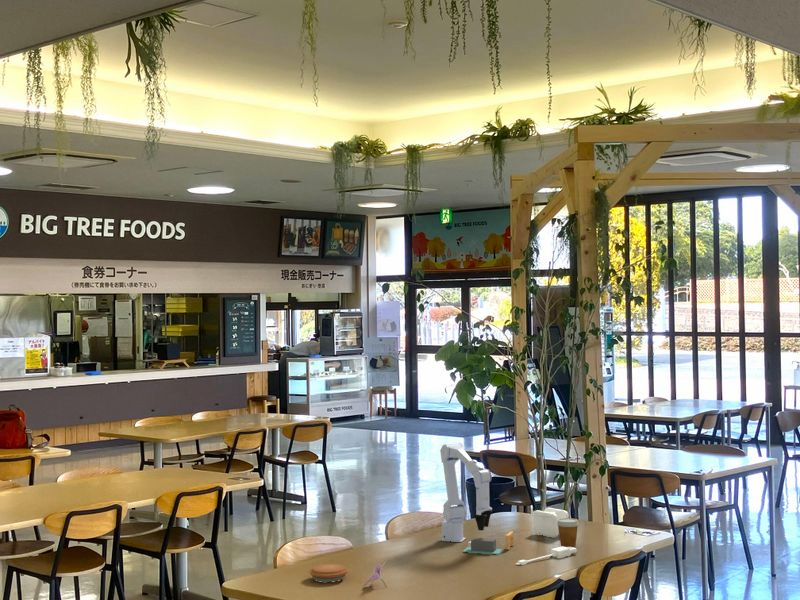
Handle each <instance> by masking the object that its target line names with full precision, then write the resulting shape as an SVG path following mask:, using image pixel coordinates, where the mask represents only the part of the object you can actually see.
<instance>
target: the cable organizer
mask: <svg viewBox="0 0 800 600" xmlns="http://www.w3.org/2000/svg"><path fill="white" fill-rule="evenodd" d="M569 516H570V514H569V512H568V511H567V510H564V509H559V508H553V507H546V508H545V509H544V510H538V509H537V510H533V511H532V514H531V518H532V532H533V533H534V534H535V535H537V536H539V535H543V536H542V537H546V538H548V537H552V538H551V539H555V538H558V537H559V529H558V524H557V522H558V519H562V518H569Z"/></svg>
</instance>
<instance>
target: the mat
mask: <svg viewBox="0 0 800 600" xmlns="http://www.w3.org/2000/svg"><path fill="white" fill-rule="evenodd" d="M463 552H468V553H467V554H477V553H481V554H480V555H492V554H496V555H495V556H499V555H500V554H501V553H502V552H504V549H502V548H496V550H495V551H494V552H482V551H471V547H468V546H467V547H466V548H465V549H463V550H462V553H463Z"/></svg>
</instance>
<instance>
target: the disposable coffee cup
mask: <svg viewBox="0 0 800 600" xmlns="http://www.w3.org/2000/svg"><path fill="white" fill-rule="evenodd" d="M557 524H558V529H559V535H558V537H559V541H560V547H562V546H563V547H569V546H570V547H574V548H575V547H576V546H577V535H578V527H579V524H580V523H579V521H578V519H577V518H562V519H558V522H557Z"/></svg>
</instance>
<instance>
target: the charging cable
mask: <svg viewBox="0 0 800 600" xmlns="http://www.w3.org/2000/svg"><path fill="white" fill-rule="evenodd" d="M577 552H578V549H577V548H574V547H570V546H569V547H563V546H562V547H561V546H558V547H554V548H551V549H550V553H549V554H548V555H544V556H539V557H535V558H531V559H528V560H527V559H521V560H520V559H519V560H517V562H516V563H515V565H517V566H525V565H527V564H529V563H531V562H533V561H537V560H541V559H545V558H548V557H551V556H553V557H552V558H555V557H557V559H562V558H567V557H566V556H568V557H571V555H572V554H575V553H577Z"/></svg>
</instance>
